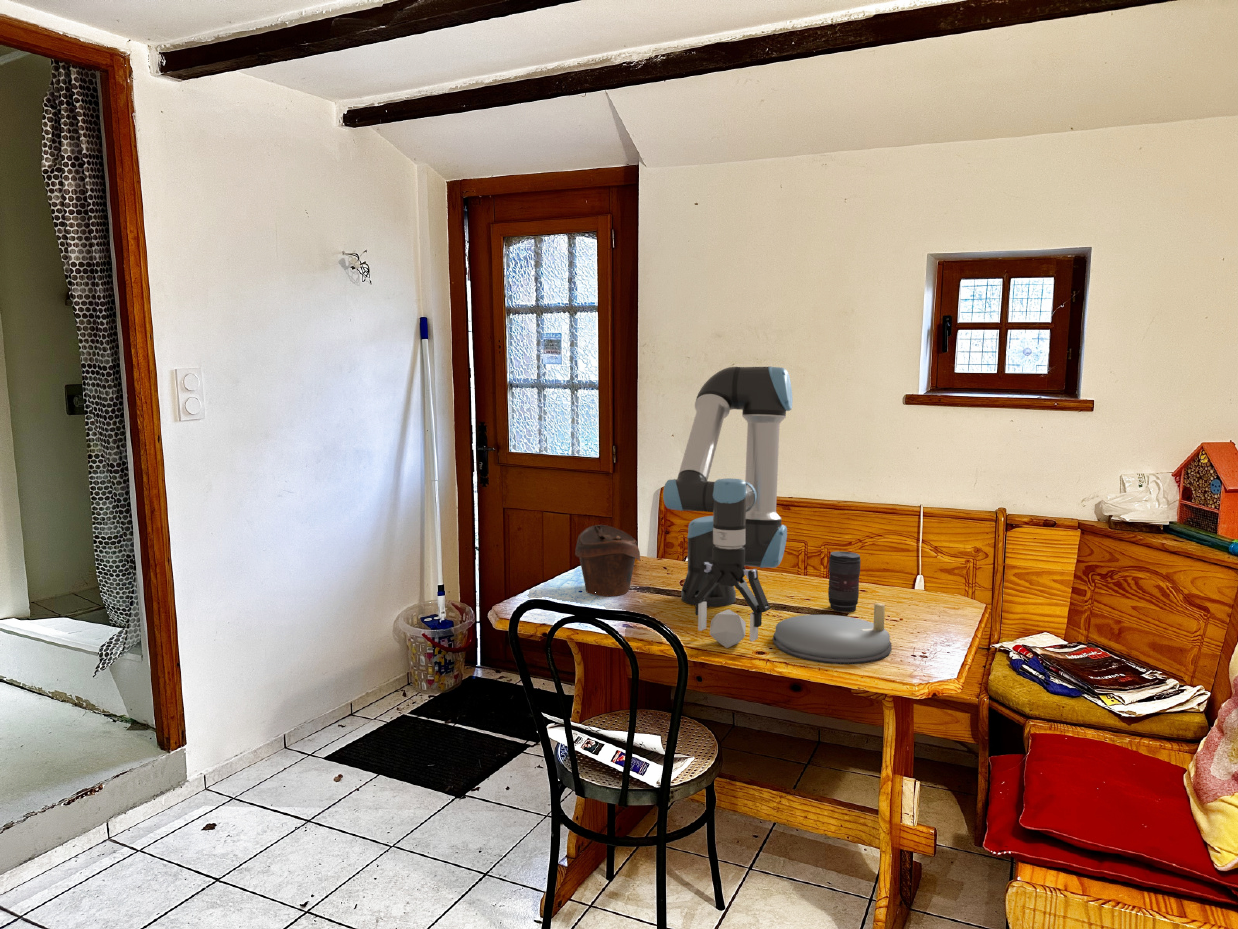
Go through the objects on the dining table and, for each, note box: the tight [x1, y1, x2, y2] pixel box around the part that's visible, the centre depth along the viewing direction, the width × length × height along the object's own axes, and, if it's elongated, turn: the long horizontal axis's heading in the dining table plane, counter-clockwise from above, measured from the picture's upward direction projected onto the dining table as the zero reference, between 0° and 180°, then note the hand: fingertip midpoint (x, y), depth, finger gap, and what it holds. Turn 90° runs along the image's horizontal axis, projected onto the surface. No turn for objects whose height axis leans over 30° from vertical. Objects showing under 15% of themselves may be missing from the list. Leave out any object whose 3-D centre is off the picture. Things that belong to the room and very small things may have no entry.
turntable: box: [774, 602, 891, 659], centre depth 200 cm, size 26×26×8 cm
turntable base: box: [772, 632, 893, 665], centre depth 201 cm, size 27×27×1 cm
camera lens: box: [827, 550, 862, 613], centre depth 228 cm, size 8×8×15 cm
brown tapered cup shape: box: [574, 524, 641, 597], centre depth 245 cm, size 18×20×18 cm
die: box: [709, 609, 747, 649], centre depth 200 cm, size 8×9×10 cm
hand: (727, 634), depth 200 cm, fingers open, 13 cm apart
